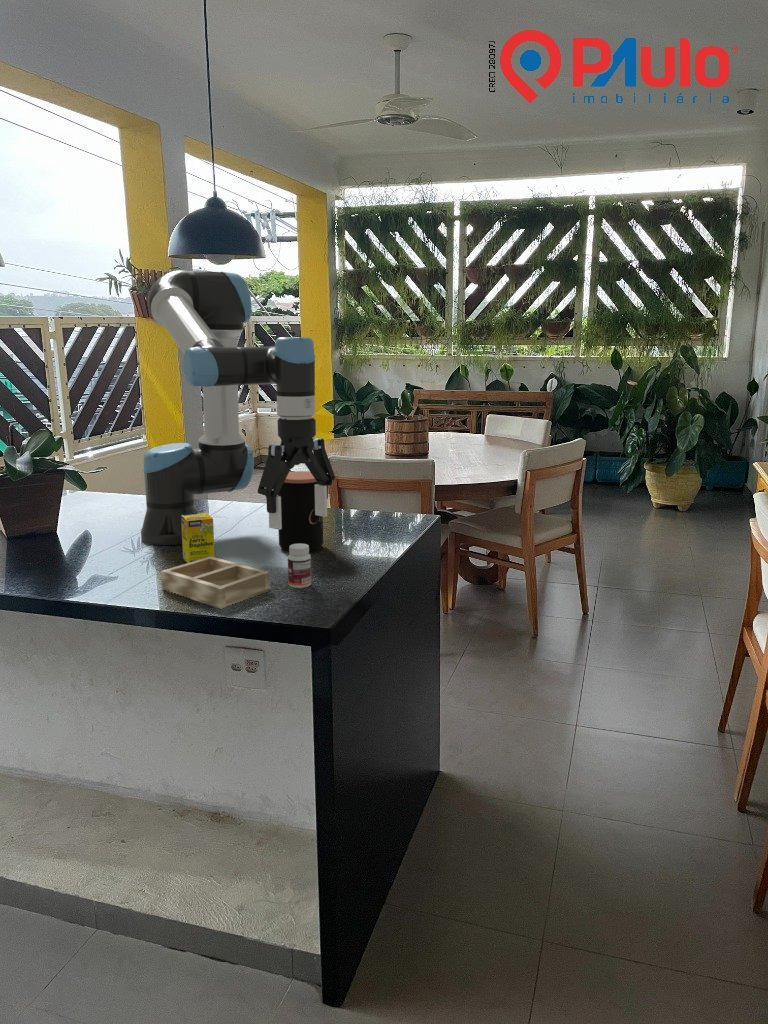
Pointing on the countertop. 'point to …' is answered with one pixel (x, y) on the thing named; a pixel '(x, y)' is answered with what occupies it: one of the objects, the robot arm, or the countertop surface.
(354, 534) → the countertop surface
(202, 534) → the supplement box
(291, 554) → the pill bottle
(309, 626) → the countertop surface
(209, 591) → the divided wooden tray
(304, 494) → the coffee jar
